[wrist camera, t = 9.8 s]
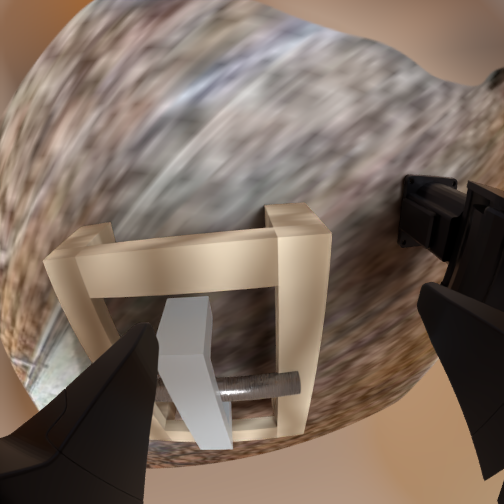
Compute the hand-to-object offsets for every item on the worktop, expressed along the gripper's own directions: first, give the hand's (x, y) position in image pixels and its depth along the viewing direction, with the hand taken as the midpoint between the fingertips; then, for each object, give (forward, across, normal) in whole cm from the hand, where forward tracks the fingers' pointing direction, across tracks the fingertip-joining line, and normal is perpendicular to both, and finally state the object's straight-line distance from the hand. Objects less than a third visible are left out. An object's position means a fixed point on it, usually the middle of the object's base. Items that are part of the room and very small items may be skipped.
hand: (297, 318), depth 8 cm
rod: (+7, +6, +12) cm, 15 cm away
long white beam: (+9, +6, +12) cm, 16 cm away
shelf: (+13, +6, +12) cm, 19 cm away
